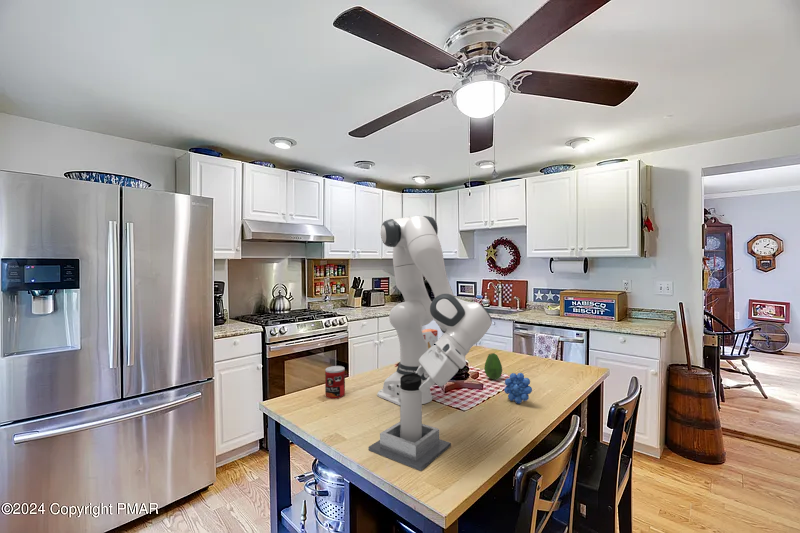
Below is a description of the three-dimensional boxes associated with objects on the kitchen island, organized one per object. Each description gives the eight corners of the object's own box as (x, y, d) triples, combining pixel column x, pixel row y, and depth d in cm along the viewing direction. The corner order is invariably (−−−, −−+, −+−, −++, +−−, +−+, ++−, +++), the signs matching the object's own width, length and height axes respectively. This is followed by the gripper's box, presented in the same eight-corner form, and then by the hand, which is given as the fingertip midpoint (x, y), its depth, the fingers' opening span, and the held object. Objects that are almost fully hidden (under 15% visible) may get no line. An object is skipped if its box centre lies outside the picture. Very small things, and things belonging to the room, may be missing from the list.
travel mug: (425, 441, 109) (425, 373, 109) (416, 451, 103) (416, 380, 103) (406, 436, 112) (405, 371, 112) (396, 446, 106) (396, 377, 106)
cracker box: (416, 377, 173) (416, 333, 172) (408, 374, 177) (408, 331, 177) (438, 372, 181) (438, 329, 181) (429, 369, 186) (429, 328, 186)
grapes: (537, 404, 139) (537, 373, 139) (528, 409, 135) (528, 377, 135) (510, 396, 148) (510, 366, 148) (500, 400, 144) (500, 369, 144)
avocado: (490, 375, 175) (490, 350, 175) (505, 379, 169) (505, 353, 169) (480, 379, 170) (480, 353, 170) (495, 383, 164) (495, 356, 164)
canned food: (321, 397, 148) (321, 370, 148) (332, 391, 155) (332, 365, 155) (338, 400, 145) (337, 372, 145) (348, 393, 152) (348, 366, 152)
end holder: (368, 450, 106) (368, 433, 106) (401, 429, 119) (401, 414, 119) (420, 471, 95) (420, 451, 95) (450, 446, 108) (450, 429, 108)
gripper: (433, 335, 119) (403, 367, 117) (451, 350, 98) (415, 389, 97) (447, 349, 119) (417, 380, 118) (468, 366, 99) (432, 405, 98)
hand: (417, 384), depth 107 cm, fingers open, 8 cm apart
